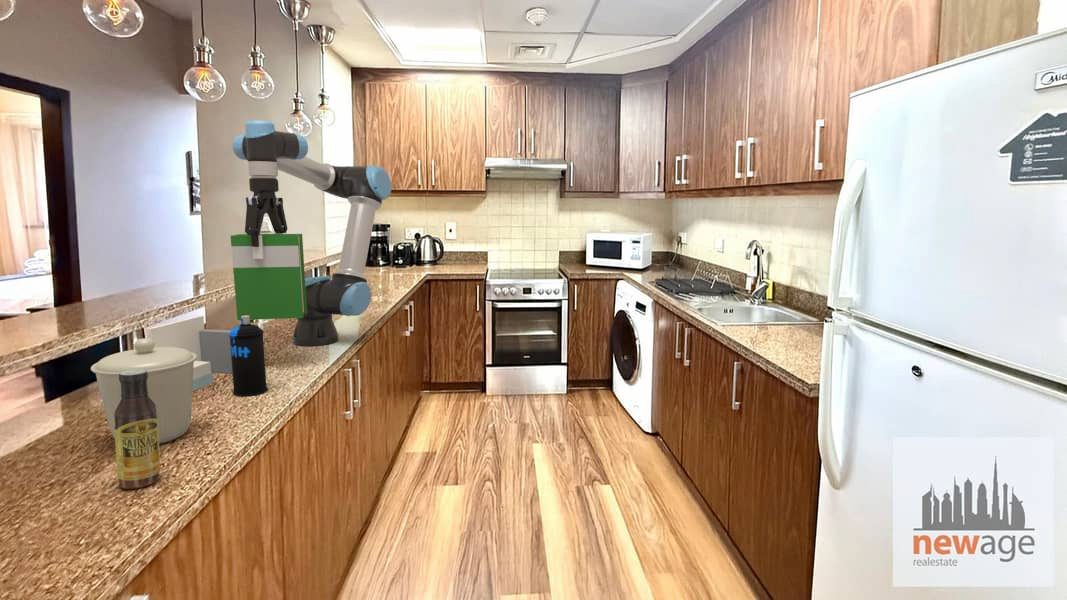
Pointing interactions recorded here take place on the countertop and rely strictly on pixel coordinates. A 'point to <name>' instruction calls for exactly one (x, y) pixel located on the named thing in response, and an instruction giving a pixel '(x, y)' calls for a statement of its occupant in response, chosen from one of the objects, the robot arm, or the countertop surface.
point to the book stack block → (201, 374)
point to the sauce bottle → (136, 432)
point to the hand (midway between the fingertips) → (269, 256)
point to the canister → (152, 384)
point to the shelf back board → (179, 335)
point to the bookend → (216, 350)
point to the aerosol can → (248, 359)
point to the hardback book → (269, 277)
